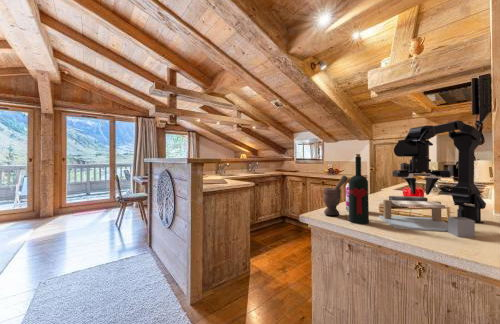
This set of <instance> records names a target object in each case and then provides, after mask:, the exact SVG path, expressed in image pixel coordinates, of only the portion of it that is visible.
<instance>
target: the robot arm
mask: <svg viewBox="0 0 500 324" xmlns="http://www.w3.org/2000/svg"><path fill="white" fill-rule="evenodd" d="M444 133H448V137H449V138H450V139H452V141H453V146H454V147H455V149H457V150H458V156H457V157H458V164H457V165H458V166H457V167H458V168H457V169H458V173H457V174H458V175H457V184H456V185H455V186H452V187H451V194H450V195H451V198H452V201H453V205H454V206H458V209H457V216H456V217H465V218H468V219H471V220H474V221H475V224H476V223H477V224H478V223H479V224H480V223H481V224H484V223H485V222H484V221H483V220H481V219H482V216H481V215H482V211H481V210H484V209H486V207H487V203H486V202H485V201H484V199H483V198H482V197H481V195H480V190H479V188H478V187H477V186H476V184H475V151H476V149H477V148H478V147H479V146H480V144H481V139H482V134H481V132H480V131H479V130H478V129H477V128H476V127H475V126H472V125H470V124H467V123H465V122H464V121H463V120H460V119H459V120H450V121H447V122H445V123H444V122H443V123H439V124H436V125H429V124H428V125H422V126H414V127H411V128H409V131H408V133H407V135H405V137H404V139H398V140H397V143H396V144H395V146H394V147H393V153H394V155H395V156H396V157H398V158H399V157H400V158H401V157H403V158H404V157H405V158H409V157H410V158H411V159H410V160H409V162H408V163H407V162H401V163H400V169H394V170H393V171H392V177H395V178H401V179H404V180H405V181H406V183H407V184H408V186H409V189H410V191H411V194H412V196H413V195H416V188H417V184H416V183H417V178H416V177H417V176H418V177H420V176H421V177H424V180H425V195H426V196H428V195H430V193H431V192H432V189H433V188H434V186H435V185H436V183H437V182H438V181H439V180H441V179H442V178H449V179H450V178H452V172H450V170H446V169H430V163H431V162H432V159H431V158H430V146H432V147H433V146H434V144H433V142H431V141H430V139H432V138H434V137H435V136H436V135H440V134H444ZM414 176H415V177H414ZM439 177H440V178H439Z"/></svg>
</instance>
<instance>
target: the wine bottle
mask: <svg viewBox="0 0 500 324" xmlns="http://www.w3.org/2000/svg"><path fill="white" fill-rule="evenodd" d="M354 162H355V175H354V176H353V175H352V177H350V178H349V181H348V183H349V212H348V221H349V223H352V224H356V225H368V224H369V222H370V217H369V216H370V212H369V209H370V208H369V180H368V179H367V178H366V177H365V176H363V175H362V157H361V154H360V153H356V154H355V161H354Z"/></svg>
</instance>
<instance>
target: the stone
mask: <svg viewBox="0 0 500 324" xmlns="http://www.w3.org/2000/svg"><path fill="white" fill-rule="evenodd" d="M447 221H448V222H447V223H448V233H449V234H451V235H453V236H455V237H457V238H466V239H467V238H469V239H470V238H471V239H476V236H475V235H476V233H475V232H476V231H475V230H476V229H475V228H476V226H475V225H476V222H475V221H474V220H471V219H468V218H465V217H457V216H448V217H447Z"/></svg>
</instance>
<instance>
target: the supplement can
mask: <svg viewBox="0 0 500 324" xmlns="http://www.w3.org/2000/svg"><path fill="white" fill-rule="evenodd" d="M345 210H346V211H347V212H348V213H349V182H347V183H346V185H345Z"/></svg>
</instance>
